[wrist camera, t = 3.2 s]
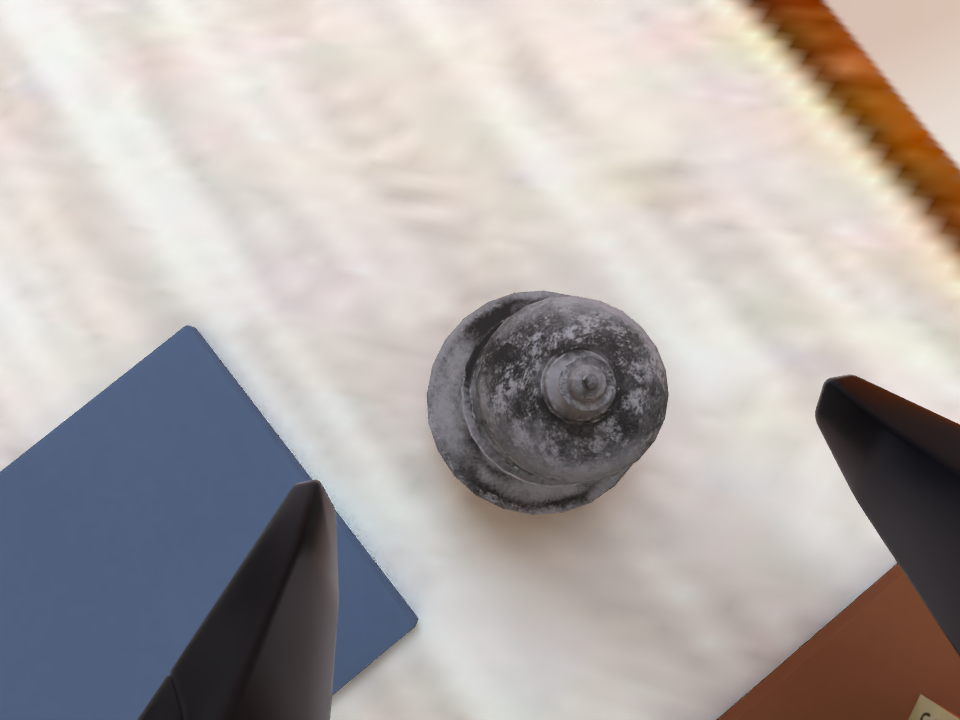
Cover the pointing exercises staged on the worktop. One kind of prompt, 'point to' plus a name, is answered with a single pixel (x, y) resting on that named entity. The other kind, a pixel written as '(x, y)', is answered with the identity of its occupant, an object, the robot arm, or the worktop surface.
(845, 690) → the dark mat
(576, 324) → the grey chess piece
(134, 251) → the worktop surface
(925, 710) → the shoe polish box
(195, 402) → the blue mat
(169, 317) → the worktop surface
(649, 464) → the worktop surface
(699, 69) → the worktop surface
